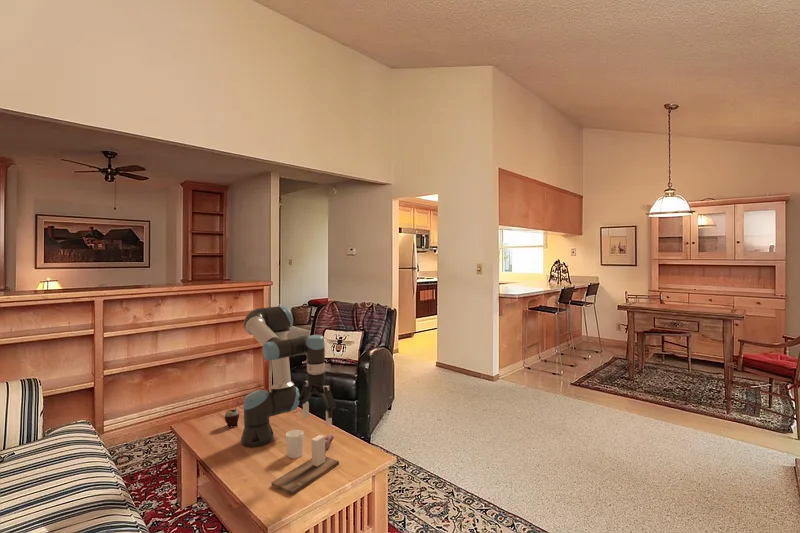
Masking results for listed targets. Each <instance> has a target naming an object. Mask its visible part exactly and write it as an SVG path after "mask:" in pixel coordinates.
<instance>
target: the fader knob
mask: <svg viewBox="0 0 800 533" xmlns="http://www.w3.org/2000/svg"><path fill="white" fill-rule="evenodd" d="M325 438H326V436H325V435H322V434H319V435H317V436H315V437H313V438H311V439H310V440H311V442H310V443H311V458H312V465H314V466H319V465H321V464H322V463H324V462H325V461H326V459H325V456H326V450H325Z"/></svg>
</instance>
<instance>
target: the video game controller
mask: <svg viewBox="0 0 800 533" xmlns="http://www.w3.org/2000/svg"><path fill="white" fill-rule="evenodd" d="M334 437H335V436H334V435H333V434H328V435H326V436H325V451H327V449H328V448H330V447H331V444H332V441H333V440H334V439H335V438H334Z"/></svg>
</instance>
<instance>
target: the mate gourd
mask: <svg viewBox="0 0 800 533" xmlns="http://www.w3.org/2000/svg"><path fill="white" fill-rule="evenodd" d="M242 398H243V396H240V397H239V398H238V400H237V401H236V404H235V408H234V409H230V410H227V411H226V412H225V414H224V420H225V422H226V426H227V425H228V426H227V427H231V426H237V427H238V426H239V425H238V422H239V420H240V419H239V418H240V413H239V411H238V410H237V406H238V404H239V401H240V400H241V399H242ZM231 428H232V427H231Z"/></svg>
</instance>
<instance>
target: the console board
mask: <svg viewBox="0 0 800 533" xmlns="http://www.w3.org/2000/svg"><path fill="white" fill-rule="evenodd" d="M325 459H326V461H325V462H324V463H322V464H321V465H319V466H314V465H312V457H311V458H310V459H308V460H306V461H305V462H303V463H302V464H299V465H298V466H296V467H295V468H293V469H292V470H289V471H288V472H286V473H284V475H281V476H280V477H278V478H277V479H275V480H273V481H271V487H273V488H275V489H277V490H279V491H281V492H283V493H286V494H288V495H290V496H292V497H293V496H294V495H296V494H297V493H298V492H300V491H301V490H303V489H304V488H307V487H308V486H309V485H311V484H312V483H314V482H315V481H317V480H318V479H319V478H320V479H321V477H323V476H324V475H326V474H327V473H329V472H330V471H332V470H333V469H335V468H336V467H338V466H339V465H340V461H339V460H337V459H333V458H331V457H329V456H326V455H325Z"/></svg>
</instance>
